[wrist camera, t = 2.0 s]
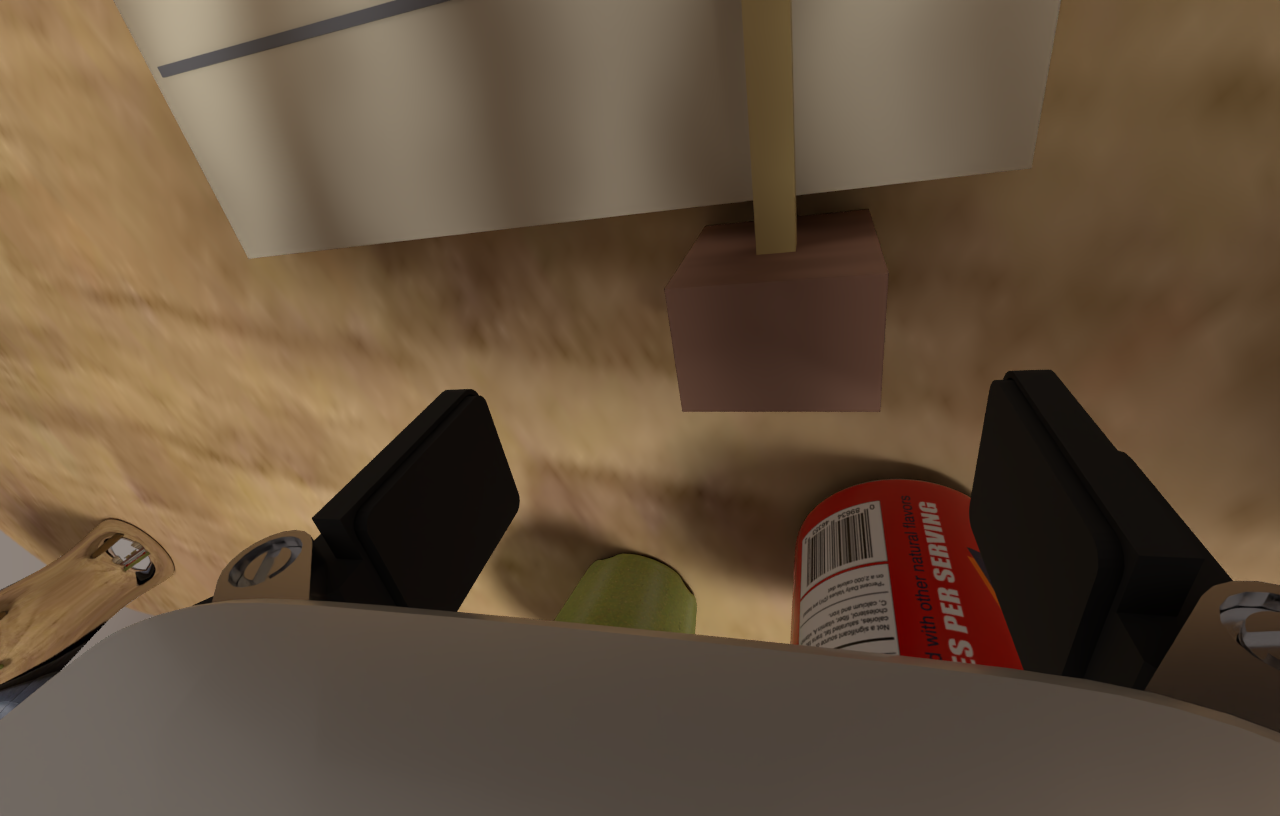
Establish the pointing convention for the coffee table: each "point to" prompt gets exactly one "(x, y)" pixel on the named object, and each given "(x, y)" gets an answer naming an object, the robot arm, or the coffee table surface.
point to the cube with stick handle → (779, 273)
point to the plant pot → (632, 596)
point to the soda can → (897, 577)
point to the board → (569, 106)
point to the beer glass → (72, 604)
